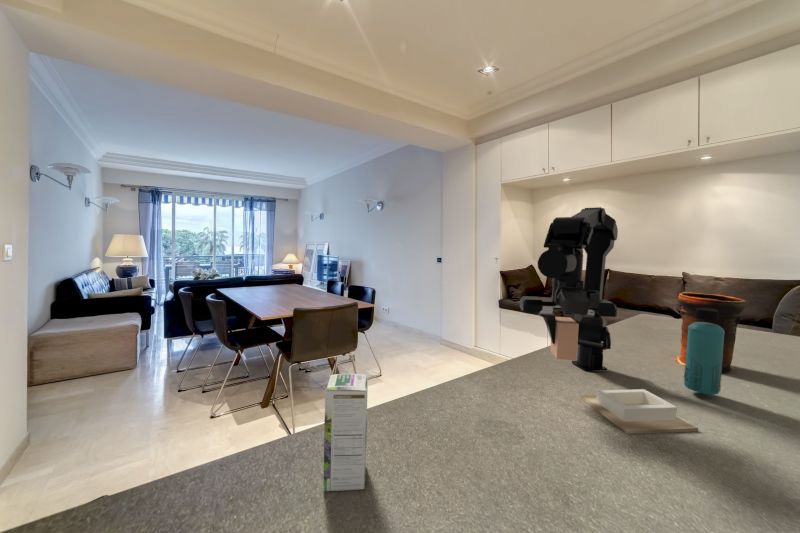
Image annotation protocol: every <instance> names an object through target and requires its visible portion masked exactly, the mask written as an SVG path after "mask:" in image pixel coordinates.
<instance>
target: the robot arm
mask: <svg viewBox="0 0 800 533" xmlns="http://www.w3.org/2000/svg"><path fill="white" fill-rule="evenodd" d="M618 233H619V231H618V225H617V220H615V218H613V217H612V216H610V215H609V214H607V212H606V208H603V207H602V206H600V207H584V208H582V209H581V210H580V211H579V212H577V213H575V214H574V215H572V216H567V217H565V216H563V217H562V216H561V217H559V216H558V217H555V218H554V219H553V220H552V222H551V223H550V224H549V227H548V231H547V233H546V236H545V239H544V243H543V249H545V248H547V250H545V251H543V252H542V253H541V254H540V256H539V257H538V259H537V269H538V270H539V272H540V273H541V275H543V276H544V277H546V278H549V279H552V281H551V282H552V290H551V292H552V293H551V298H550V299H551V300H542V299H541V298H540V297H539V296H533V295H531V296H527V295H523V296H521V297H520V299H519V308H520V310H521V311H522V312H523V313H527V314H528V313H531V314H538V316H539V317H542V319H543V320H544V324H545V325H546V328H547V331H548V334H549V337H550V342H551V341H552V343H553V344H555V317H557V316H556V315H555V314H554V310H555V311H557V310H558V311H560V310H561V312H562V314H564V315H573V320H574V321H576V322H577V323H578V324H579V330H578V347H577V361H576V360H571V363H572V364H573V365H575V367H578V368H579V369H581V370H583V371H585V372H591V371H592V372H593V371H596V372H599V371H600V372H601V371H608V368H607V367H605V366H604V351H606V350H610V349H611V347H612V339H611V338H612V337H611V333H610V331H609V327H607V318H606V317H609V318H617V312H618V308H617V305H616V304H615V303H614V302H613V301H610V300H607V299H603V290H604V281H605V280H604V279H605V269H606V259H607V258H606V257H607V256H608V255H609V253H610V252H611V251H612V250H613V249H614V247H615V241H617V240H618V235H619V234H618ZM584 251H585V253H586V262H585V263H586V264H585V273H584V274H585V275H584V280H583V264H584V254H583V253H584Z"/></svg>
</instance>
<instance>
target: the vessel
mask: <svg viewBox="0 0 800 533" xmlns="http://www.w3.org/2000/svg"><path fill="white" fill-rule="evenodd" d="M677 301H678V303H679V304H680V306H682V309H681V310H680V312H679V314H680V317H681V320H682V323H681V326H680V328H681V334H680V335H681V338H680V340H679V341H680V355H679V356H675V357H674V361H675V362H677V363H678V364H680V365H682V366H685V363H686V360H685V359H686V357H685V356H686V350H687V346H686V345H687V340H688V326H689V325H691V324H692V323H694V322H706V323H712V324H716V325H719V326H720V327H721V328H722V329H723V330H724V331H725V333H724V343H723V359H722V361H723V362H722V364H723V365H722V367H723V368H722V371H721V374H737V371H738V369H737V368H736V367H733V366H731V364H732V363H733V362H732V361H733V357H734V349H735V345H736V344H735V343H736V338H737V327H738V324H740V321H741V314H742V312H743V311H744V310H745V309H746V307H747V300H745V299H743V298H742V299H741V298H739V297H734V296H728V295H723V294H715V293H714V294H710V293H702V292H701V293H700V292H685V291H684V292H683V291H682V292H681V293H679V294H678V296H677ZM697 308H707V309H714V310H717V311H719V320H706V319H700V318H696V317H695V313H696V309H697Z"/></svg>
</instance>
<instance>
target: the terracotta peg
mask: <svg viewBox="0 0 800 533" xmlns="http://www.w3.org/2000/svg"><path fill="white" fill-rule="evenodd" d="M578 330H579V324H578V323H577V322H576V321H574V318H572V317H569V316H568V317H565V316H556V317H555V344H553V343H552V341H551V340H550V349H549V350H550V352H551V354H552V355H553V356H554V357H555V359H556V360H562V361H563V360H565V361H566V360H567V361H577V351H578Z"/></svg>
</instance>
